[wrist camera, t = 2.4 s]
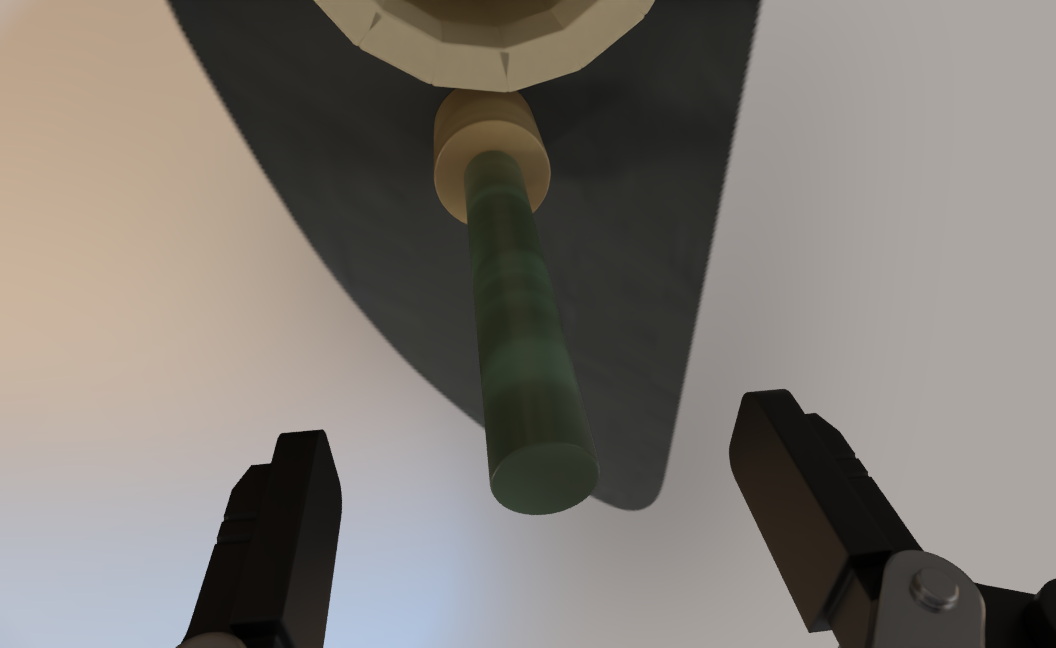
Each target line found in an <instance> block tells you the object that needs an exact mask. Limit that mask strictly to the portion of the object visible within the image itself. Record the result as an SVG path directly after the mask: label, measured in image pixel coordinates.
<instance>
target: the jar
mask: <svg viewBox="0 0 1056 648" xmlns="http://www.w3.org/2000/svg"><path fill="white" fill-rule="evenodd" d="M314 1H315V2H316V3H317V4H318V6H319V7H320V8H321V9H322V10H323V11H324V12H325V13H326V14H327V15H328V16H329V17H330V19H331V20H332V21H333V22H334V23H335V24H336V25H337V26H338V27H339V28H340V29H341V30H342V32H343V33H344V34H345V35H346V36H347V37H348V38H349V39H350V40H351V41H352V42H353V44H354V45H356V46H358V45H359V47H360V48H361V49H362V50H364V51H366V52H368V53H370V54H372V55H374V56H376V57H377V58H379V59H381V60H383V61H385V62H387V63H389V64H391V65H393V66H395V67H397V68H399V69H401V70H403V71H405V72H407V73H408V74H410V75H412V76H414V77H416V78H418V79H420V80H422V81H424V82H426V83H428V84H431V83H432V84H433V85H434V86H440V87H451V88H462V89H473V90H484V91H495V92H513V91H516V90H519V89H522V88H526V87H529V86H532V85H535V84H538V83H541V82H544V81H547V80H551V79H554V78H557V77H560V76H563V75H566V74H569V73H573V72H576V71H579V70H580V69H581V68H583V67H585V66H586V65H587V64H589V63H590V62H591V61H592V60H593V59H595V58H596V57H597V56H598V55H599V54H601V53H602V52H603V51H604V50H606V49H607V48H608V47H609V46H610V45H612V44H613V43H614V42H615V41H617V40H618V39H619V38H620V37H621V36H623V35H624V34H625V33H626V32H627V31H629V30H630V29H631V28H632V27H634V26H635V25H636V24H637V23H638V22H640V21H641V20H642V19H643V18H644V15H645V14H647V13H648V11H649V10H650V8H651V6H652V5H653V3H654V1H655V0H314Z"/></svg>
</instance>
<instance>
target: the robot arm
mask: <svg viewBox="0 0 1056 648" xmlns="http://www.w3.org/2000/svg"><path fill="white" fill-rule="evenodd" d="M729 458H730V465H731V469H732V472H733V475H734V477H735V480H736V482H737V484H738V486H739V488H740V490H741V492H742V494H743V496H744V498H745V500H746V503H747V505H748V507H749V509H750V511H751V513H752V515H753V517H754V519H755V521H756V523H757V526H758V528H759V530H760V532H761V534H762V536H763V538H764V540H765V542H766V544H767V546H768V548H769V551H770V552H771V555H772V557H773V559H774V561H775V563H776V565H777V567H778V569H779V571H780V573H781V576H782V578H783V580H784V582H785V584H786V586H787V588H788V590H789V592H790V594H791V596H792V598H793V600H794V603H795V604H796V607H797V609H798V611H799V613H800V615H801V617H802V619H803V621H804V623H805V626H806V628H807V629H808V632H809V633H812V632H820V631H828V630H832V631H833V633H834V635H835V637H836V639H837V641H838V642H839V647H838V648H1056V579H1053V580H1051V581H1049V582H1047V583H1046V584H1045V585H1044V586H1043V587H1042V588H1041V590H1040V591H1039V592H1038V593H1037V594H1030V593H1025V592H1019V591H1014V590H1009V589H1003V588H998V587H992V586H987V585H982V584H978V583H974V582H973V581H972V580H971V579H970V578H969V577H968V576H967V575H966V574H965V573H964V572H963V571H962V570H961V569H960V568H958V567H957V566H955V565H954V564H953V563H951V562H949V561H948V560H946V559H944V558H942V557H939V556H937V555H935V554H932V553H929V552H924V551H923V549H922V548H921V547H920V546H919V544H918V543H917V542H916V540H915V539H914V537H913V536H912V534H911V533H910V532H909V530H908V529H907V527H906V526H905V524H904V523H903V522H902V520H901V519H900V517H899V516H898V514H897V513H896V511H895V510H894V509H893V507H892V506H891V505H890V503H889V501H888V500H887V499H886V497H885V496H884V494H883V493H882V492H881V490H880V489H879V487H878V486H877V484H876V483H875V481H874V480H873V479H872V477H869V476H868V471H867V470H866V469H865V467H864V466H863V464H862V463H861V461H860V460H859V459H858V458H857V459H856V457H855V453H854V451H853V450H852V449H851V447H850V446H849V444H848V443H847V441H846V440H845V439H844V437H843V436H842V434H841V433H840V432H839V431H838V430H837V429H836V428H834V427H833V426H832V425H831V424H829V423H828V422H827V421H825V420H824V419H823V418H822V417H820V416H819V415H818V414H816V413H811V414H804V412H803V410H802V409H801V407H800V406H799V404H798V403H797V402H796V400H795V398H794V397H793V396H792V394H791V393H790V392H789V391H788V390H786V389H777V390H767V391H755V392H747V393H745V394H744V395H743V397H742V400H741V405H740V408H739V411H738V416H737V419H736V423H735V427H734V431H733V434H732V438H731V442H730V446H729ZM341 513H342V495H341V486H340V481H339V477H338V474H337V470H336V467H335V464H334V460H333V456H332V453H331V450H330V446H329V442H328V439H327V436H326V433H325V432H324V430H312V431H302V432H290V433H281V434H280V435H279V437H278V439H277V443H276V447H275V450H274V454H273V458H272V462H271V463H270V464H260V465H251V467H250V468H249V469H248V470H247V471H246V473H245V474H244V475H243V476H242V478H241V479H240V480H239V482H238V483H237V484H236V485H235V487H234V488H233V489H232V491H231V495H230V498H229V502H228V504H227V508H226V511H225V514H224V522H222V524H221V526H220V530H219V533H218V536H217V544H215V546H214V549H213V552H212V555H211V559H210V561H209V565H208V568H207V571H206V574H205V578H204V581H203V584H202V587H201V590H200V593H199V597H198V600H197V603H196V606H195V609H194V612H193V616H192V619H191V622H190V625H189V628H188V630H187V633H186V635H185V637H184V639H183V641H182V642H181V644H180V645H178V646H177V647H176V648H323V645H324V638H325V631H326V623H327V616H328V609H329V601H330V594H331V587H332V580H333V573H334V565H335V558H336V551H337V543H338V536H339V529H340V522H341Z"/></svg>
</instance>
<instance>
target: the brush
mask: <svg viewBox="0 0 1056 648" xmlns="http://www.w3.org/2000/svg"><path fill="white" fill-rule="evenodd" d="M550 175H551V172H550V163H549V159H548V156H547V153H546V150H545V148H544V145H543V142H542V139H541V136H540V134H539V131H538V128H537V125H536V123H535V120H534V117H533V114H532V112H531V109H530V107H529V105H528V104H527V102H526V101H525V99H524V98H523V97H522V96H521V95H520V94H519V93H518V92H517V91H513V92H495V91H484V90H473V89H462V88H456V89H455V90H453V91H452V92H451V93H450V94H449V95H448V96H447V97H446V98H445V99H444V101H443V102H442V103H441V105H440V107H439V109H438V111H437V114H436V118H435V122H434V183H435V188H436V191H437V194H438V196H439V199H440V201H441V202H442V204H443V205H444V207H445V208H446V209H447V210H448V211H449V212H450V213H451V214H452V215H453V216H454V217H456V218H457V219H458V220H460V221H462V222H464V223H466V224H468V236H469V247H470V259H471V270H472V282H473V294H474V305H475V317H476V328H477V340H478V351H479V363H480V374H481V386H482V397H483V409H484V421H485V432H486V444H487V455H488V467H489V477H490V487H491V491H492V493H493V495H494V497H495V498H496V499H497V501H498V502H499V503H501V504H502V505H503V506H504V507H506V508H508V509H510V510H512V511H515V512H518V513H522V514H529V515H545V514H552V513H556V512H560V511H564V510H566V509H568V508H571V507H573V506H575V505H577V504H579V503H580V502H582V501H583V500H584V499H585V498H587V497H588V496H589V495H590V494H591V493H592V492H593V490H594V489H595V487H596V486H597V483H598V481H599V477H600V467H599V462H598V459H597V455H596V451H595V447H594V443H593V440H592V436H591V432H590V428H589V425H588V421H587V417H586V413H585V409H584V406H583V402H582V398H581V394H580V391H579V387H578V383H577V379H576V375H575V372H574V368H573V364H572V360H571V357H570V353H569V349H568V345H567V341H566V338H565V334H564V330H563V326H562V323H561V319H560V315H559V311H558V307H557V304H556V300H555V296H554V292H553V289H552V285H551V281H550V277H549V273H548V270H547V266H546V262H545V258H544V255H543V251H542V247H541V243H540V239H539V236H538V232H537V228H536V224H535V221H534V217H533V212H534V211H535V210H536V209H537V208H538V207H539V206H540V204H541V203H542V201H543V199H544V198H545V196H546V193H547V191H548V188H549V183H550Z"/></svg>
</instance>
